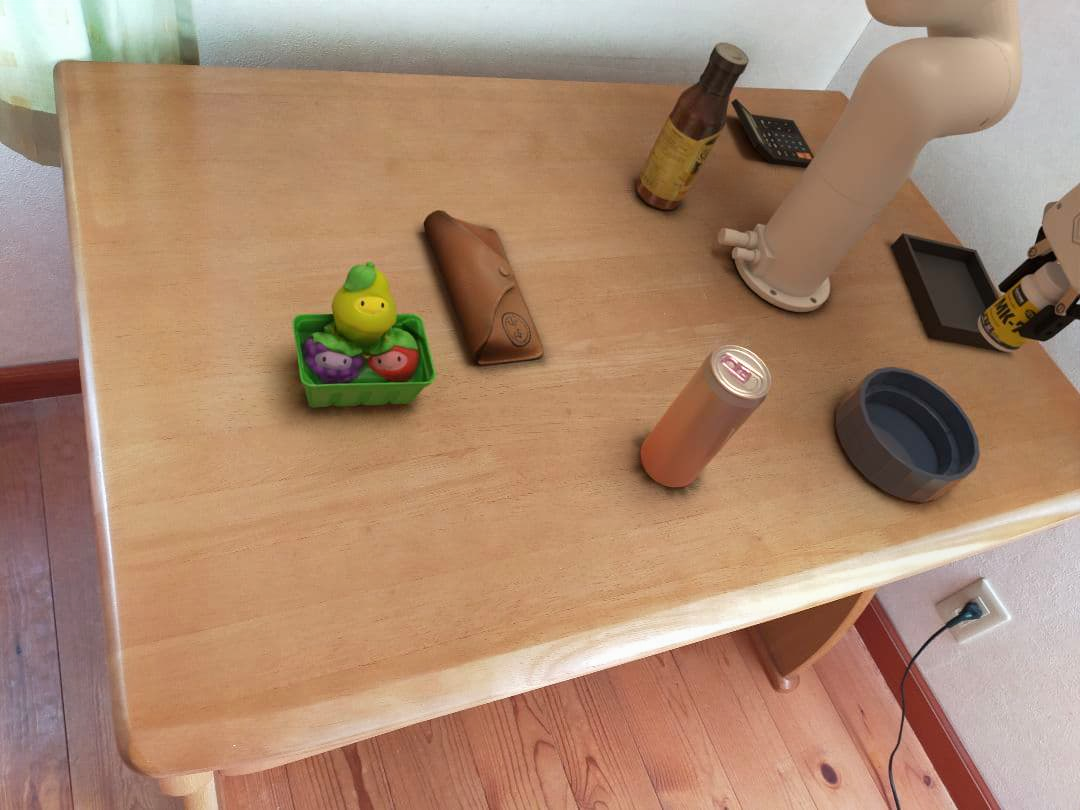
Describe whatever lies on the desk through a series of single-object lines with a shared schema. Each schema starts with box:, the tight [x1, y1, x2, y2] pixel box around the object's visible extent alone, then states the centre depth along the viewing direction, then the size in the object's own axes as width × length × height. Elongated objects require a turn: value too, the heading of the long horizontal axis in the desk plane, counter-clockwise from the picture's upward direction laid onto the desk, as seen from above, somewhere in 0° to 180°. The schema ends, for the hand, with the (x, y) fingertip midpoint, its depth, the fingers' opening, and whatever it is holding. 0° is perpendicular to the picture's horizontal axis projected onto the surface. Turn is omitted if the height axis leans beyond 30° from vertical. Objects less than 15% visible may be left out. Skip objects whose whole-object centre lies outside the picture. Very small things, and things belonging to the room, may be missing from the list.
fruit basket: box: [291, 261, 437, 409], centre depth 75 cm, size 11×9×11 cm
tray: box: [891, 232, 1006, 353], centre depth 115 cm, size 16×12×2 cm
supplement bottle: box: [978, 262, 1071, 353], centre depth 83 cm, size 5×5×8 cm
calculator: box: [731, 98, 815, 169], centre depth 124 cm, size 9×12×3 cm
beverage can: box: [640, 344, 772, 488], centre depth 79 cm, size 6×6×15 cm
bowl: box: [835, 366, 981, 503], centre depth 94 cm, size 14×14×5 cm
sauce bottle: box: [635, 41, 750, 211], centre depth 102 cm, size 7×6×20 cm
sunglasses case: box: [422, 209, 545, 366], centre depth 89 cm, size 18×7×7 cm, turn 21°
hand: (1021, 312), depth 84 cm, fingers closed on supplement bottle, 4 cm apart
